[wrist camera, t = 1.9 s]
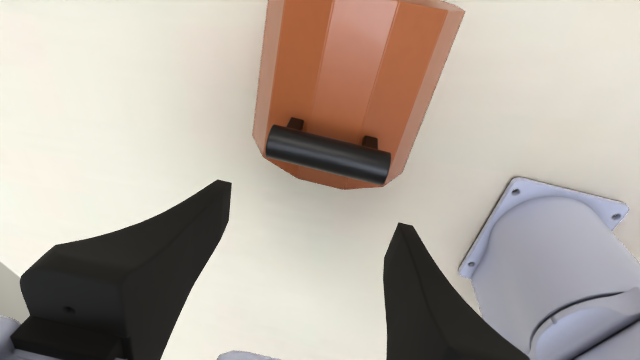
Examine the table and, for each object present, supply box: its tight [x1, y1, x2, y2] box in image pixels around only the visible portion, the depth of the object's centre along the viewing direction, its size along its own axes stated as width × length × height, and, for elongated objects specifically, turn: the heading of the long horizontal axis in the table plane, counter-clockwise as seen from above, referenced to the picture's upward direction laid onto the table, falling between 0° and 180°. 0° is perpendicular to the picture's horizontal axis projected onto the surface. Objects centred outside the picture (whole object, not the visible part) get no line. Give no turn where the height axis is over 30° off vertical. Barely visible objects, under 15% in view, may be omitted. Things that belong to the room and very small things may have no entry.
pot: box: [252, 0, 465, 190], centre depth 17 cm, size 11×8×8 cm
